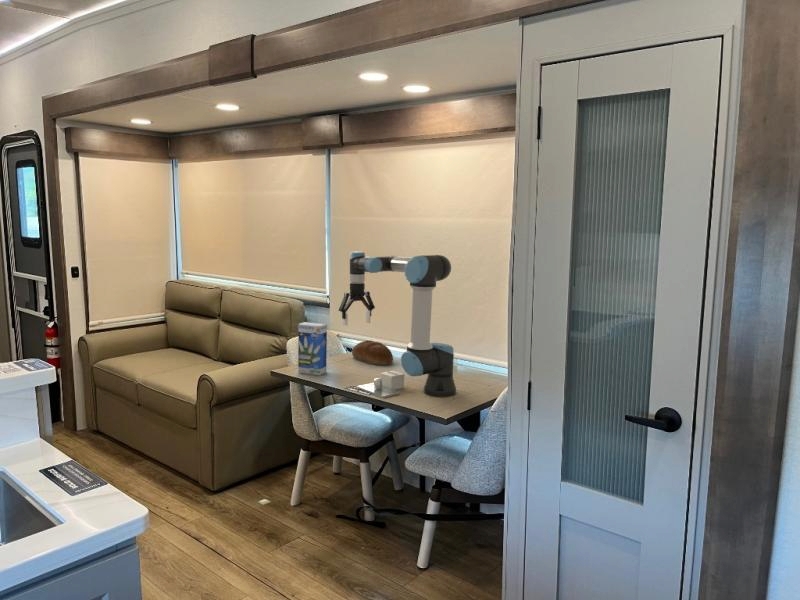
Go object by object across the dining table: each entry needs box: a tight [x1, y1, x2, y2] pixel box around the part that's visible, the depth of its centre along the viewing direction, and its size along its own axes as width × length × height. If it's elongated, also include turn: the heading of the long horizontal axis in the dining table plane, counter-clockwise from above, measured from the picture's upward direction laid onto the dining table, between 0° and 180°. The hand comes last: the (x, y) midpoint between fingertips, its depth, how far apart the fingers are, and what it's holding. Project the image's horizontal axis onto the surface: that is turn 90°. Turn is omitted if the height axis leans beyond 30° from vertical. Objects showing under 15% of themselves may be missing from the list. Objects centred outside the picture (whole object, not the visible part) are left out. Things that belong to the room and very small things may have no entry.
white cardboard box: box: [380, 370, 405, 391], centre depth 288 cm, size 8×8×7 cm
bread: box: [351, 339, 394, 366], centre depth 340 cm, size 16×29×11 cm, turn 43°
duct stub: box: [356, 377, 401, 399], centre depth 281 cm, size 20×10×6 cm, turn 41°
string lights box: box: [297, 321, 328, 376], centre depth 311 cm, size 13×8×26 cm, turn 69°
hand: (356, 324), depth 305 cm, fingers open, 13 cm apart
